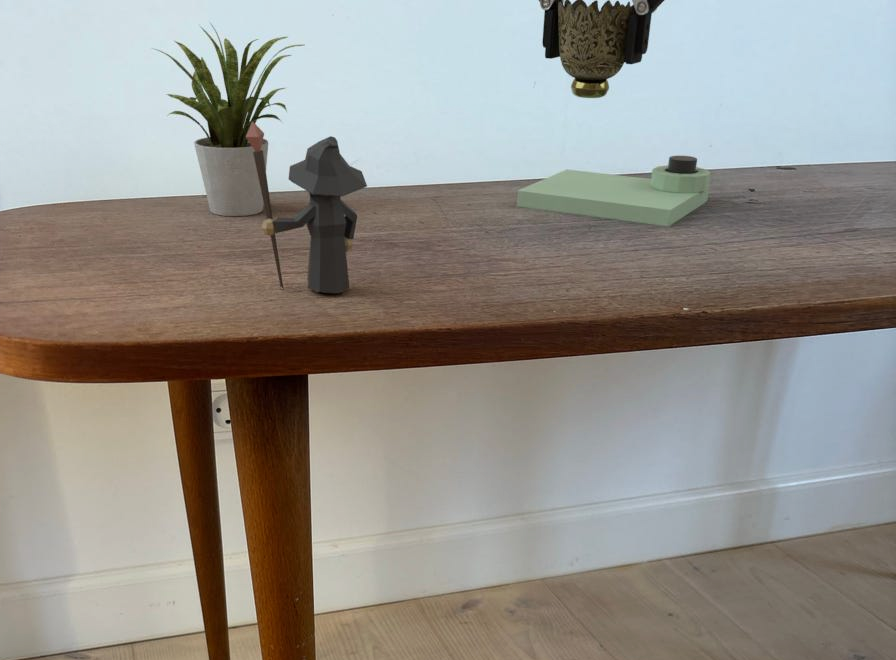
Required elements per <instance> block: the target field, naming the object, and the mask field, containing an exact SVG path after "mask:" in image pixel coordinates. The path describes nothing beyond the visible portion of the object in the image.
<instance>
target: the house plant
mask: <svg viewBox="0 0 896 660" xmlns="http://www.w3.org/2000/svg"><path fill="white" fill-rule="evenodd" d="M209 24H210V25H211V26H212V28H213V30H214V32H215V34H216V36H217V39H218V42H219V45H220V46H219V45H218V44H217V42H216V41H215V40H214V39H213V37H212V36H211V35H210V34H209V32H208V31H206V30H205V29H204V28H203V27H202V26H201V24H198V26H199V27H200V28H201V30H202V31H203V32H204V33H205V34H206V36H207V37H208V38H209V40H210V41H211V42H212V44H213V47H214V49H215V52H216V55H217V57H218V58H217V59H218V61H219V65H220V68H221V73H222V77H223V83H224V88H225V92H226V98H227V100H226V99H224V98H222V93H221V90H220V88H219V87H218V85H216V83H215V81H214V78H213V74H212V73H211V70H210V69H209V67H208V65H207V63H206V61H205V60H204V58H203V56H201V58H199V56H197V54H196V53H194V52H193V51H192V50H191V49H190V48H188V46H186V45H185V44H183V43H181V42H179V41H177V40H174V43H176V44H177V45H178V46H179V48H180V49H181V51H183V52H184V54H185V55H186V57H187V59H188V60H189V62H190V64H191V65H192V67H193V70H194V72H193V73H190V72H189V71H188V70H187V69H186V68H185V67H184V66H183V65H182V64H181V63H180V61H178V60H177V59H176V58H174V57H173V56H171V55H170V54H168V53H167V52H164V51H162V50H159V49H156V48H153V47H151V49H153V50H156V51H158V52H160V53H162V54H164V55H166V56H167V57H169V58H170V59H171V60H172V61H173V62H174V63H175V65H177V66H178V67H179V69H181V70H182V71H183V73H184V74H186V75H187V76H188V78H189V79H190V80H191V89H192V91H193V94H194V96H195V97H194V96H190V97H187V96H184V95H179V94H171V93H167V94H165V95H167V96H169V97H170V98H172V99H176V100H178V101H180V102H181V103H183V104H184V105H186V106H187V107H190V108H192V109H193V110H195V111H196V112H198V113H199V114H200V115H201V116H202V117H203V118H204V119H205V121H206V123H207V128H208V132H207V130H206V129H205V127H203V125H201V123H200V122H199V121H198V120H197V119H195V118H194V117H193V116H192V115H190V114H188V113H187V112H185V111H181V110H174V111H172V112H170V113H168V114H167V115H166V117H168V116H169V115H179V116H184V117H186V118H189V120H190V119H191V121H193V122H195V124H197V125H198V126H199V127H200V128H201V129H202V131H203V132H204V133H205V135H206V137H203V138H199V139H195V141H194V142H193V144H194V149H195V152H196V157H197V162H198V165H199V169H200V173H201V178H202V182H203V186H204V190H205V195H206V199H207V202H208V206H209V211H210V213H212V214H214V215H218V216H225V217H244V216H252V215H256V214H257V215H258V214H259V213H261V212H263V210H264V201H263V197H262V192H261V187H260V182H259V178H258V173H257V168H256V164H255V159H254V154H253V152H254V151H255V150H254V148H253V147H252V146H251V144H250V143H249V141H248V140H247V138H246V135H247V133H248V130H249V128H250V126H251V123H252V121H253V122H254V123H255V124H256V123H257V121H258V120H261V119H265V118H267V119H274V120H275V119H276V120H278V121H280V122H281V123H282V124H283V123H284V122H283V121H282V120H281V119H280V118H279V117H278V116H277V115H276V114H271V113H266V114H262V112H263V110H264V109H265V108H267V107H269V108H271V106H274V105H276V106H280V107H281V108H282V109H284V110H285V112H286V113H288V111H287V107H286V104H284V103H282V102H274V103H270V100H271V99H272V97H274V96H275V94H276V93H278V91H281V90H285V89H287V88H289V87H281V88H276V89H273V90H271V91H269V92H268V93H267V94H266V95H265V96H264V97H260V94H261V91H262V89H263V87H264V84H265V82H266V81H267V79H268V76H269V75H270V73H271V72H272V70H273V69H275V67H276V65H277V64H278V63H279V62H280V61H281V60H282V59H284V58H288V57H291V56H292V54H286V55H285V54H284V55H280V56H277V55H278V54H279V53H281V52H283V51H284V50H287V49H289V48H294V47H303V46H304V44H292V45H288V46H285V47H284V48H282V49H280V50H278V52H276V53H275V54H274V55H273V56H272V58H271V59H270V60H269V61H268V63H267V64H266V65H265V67H264V68H263V70H262V72H261V74H260V75H259V77H258V79H257V81H256V83H255V84H254V87H253V89H252V91H251V92H250V94H249V91H250V87H251V84H252V80H253V78H254V76H255V73H256V71H257V69H258V66H259V65H260V63H261V61H262V60H263V58H264V57H265V55H266V53H268V51H270V49H271V48H272V47H273V46H274V44H275V43H277V42H278V41H281V40H284V39H287V38H288V36H281V37H276V38H272V39H270V40H268V41H266V42H265V43H264V44H262V45H261V47H259V48H258V49H257V50H256V51H254V52H253V53H252V55H251V56H250V59H248V54H249V51H250V47H251V46H252V43H254V42H256V41H258V40H259V38H256V39H254V40H251V41H250V42H249V43H248V44H246V46H245V48H244V50H243V53H242V58H241V63H240V69H239V58H238V51H237V50H236V48H235V46H234V45H233V44H232V43H231V41H230V40H229V39H227V38H226V37H225V38H224V40H223V44H222V41H221V39H220V36H219V33H218V32H217V30H216V28H215V26H213V24H212V23H211V22H209ZM223 46H224V48H223ZM224 52H225V53H224ZM276 56H277V57H276ZM275 57H276V58H275ZM273 58H274V59H273ZM247 61H248V62H247ZM192 74H193V75H192ZM255 89H256V91H255V92H254V90H255ZM253 93H254V94H253ZM248 94H249V96H248ZM252 95H253V96H252ZM258 100H260V102H259V103H258V105H257V102H258ZM256 105H257V106H256ZM255 107H256V108H255ZM253 112H254V113H253ZM261 114H262V115H261ZM261 150H263V155H264V162H265V169H266V170H267V164H268V155H269V154H268V153H269V152H268V151H269V140H268V139H266V138H263V142H262V146H261Z"/></svg>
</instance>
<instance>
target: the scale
mask: <svg viewBox="0 0 896 660" xmlns="http://www.w3.org/2000/svg"><path fill="white" fill-rule="evenodd" d="M667 170H668V165H667V164H666V165H659V166H656V167H654V168H652V170H651V177H650V178H643V177H635V176H627V175H619V174H610V173H602V172H594V171H593V172H592V171H585V170H584V171H583V170H576V169H565V170H562V171H560V172H558V173H555V174H553V175H551V176H547V177H546V178H543V179H541V180H539V181H537V182H534V183H532V184H529V185H527V186H525V187H522V188H520V189H518V190H517V196H516V207H520V208H527V209H528V208H529V209H535V210H541V211H542V210H543V211H550V212H557V213H566V214H573V215H579V216H580V215H581V216H587V217H595V218H602V219H609V220H619V221H624V222H633V223H639V224H640V223H641V224H648V225H654V226H655V225H656V226H661V227H662V226H663V227H670V226H671V225H673V224H674V223H676V222H678V221H679V220H680V219H682V218H684V217H685V216H687V215H688V214H690V213H691V212H693V211H695V210H696V209H698V208H700V207H701V206H702V205H704V204H706V203H707V202H708V198H709V193H710V180H711V174H712V173H711V171H710V170H709V169H706V168H702V167H698V166H696V171H695V173H694V174H677V173H670V172H667Z"/></svg>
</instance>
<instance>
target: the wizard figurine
mask: <svg viewBox="0 0 896 660" xmlns="http://www.w3.org/2000/svg"><path fill="white" fill-rule="evenodd" d="M264 137H265V132H264V131H263V130H262V129H261V128H260V127H259V126H258V125H257V124H256V123H254V122H253V121H252V123H251V126H250V128H249V130H248V133H247V135H246V138H247V140H248V141H249V143H250V144H251V146H252V147H253V148H254V150H255V151H254V152H253V154H254V159H255V164H256V168H257V173H258V178H259V182H260V187H261V192H262V197H263V207H264V210H265V216H266V219H265V220H263V221H262V222H263V223H262V225H261V229H262V231H263V234H264V235H267V236H270V240H271V245H272V251H273V255H274V260H275V265H276V271H277V277H278V281H279V287H280V288H281V287H282V288H283V289H284V284H283V276H282V270H281V264H280V258H279V252H278V246H277V245H278V244H277V238H276V234H279V233H283V232H288V231H291V230H296V229H299V228H300V229H301V228H303V227H304V226H306V229H307V230H308V233H309V237H310V241H309V253H308V267H307V289H308V288H309V289H311V290H313V291H317V292H322V293H324V294H325V293H326V294H339V293H342V292H344V291H346V290H348V289H350V288H351V287H350V278H349V269H348V260H347V252H349V251H350V250H352V248H353V246H354V243H353V240H354V237H355V231H356V226H357V220H358V214H357V213H356V211H354V210H353V209H352V208H351V207H350V206H349V205H348V204H347V203H346V202H344V201H343V200H342V199H341V197H342V198H343V197H344V196H347V195H349V194H352V193H355V192H357V191H360V190H362V189H365V188H367V187H368V185H367V181H366V180H365V176H364V174H363V171H362V170H360V169H357V168H355V167H353V166H351V165H350V164H349V163H348V161H346V160H345V158H344V156H343V155H342V153H341V152H340V147H339V143H338V140H337V138H336V137H335V136H332V135H330V136H327V137H326V138H323V139H321V140H319V141H317V142H316V143H314V144H313V145H311V146H309V147H308V148H307V150H306V154H305V158H304V159H303V160H301V161H299V162H297V163H294V164H291V165H289V172H288V180H289V181H290V182H291V183H293V184H294V185H296V186H298V187H300V188H301V189H303V190H305V191H306V192H307V193H308V197H309V203H308V204H307V206H305V207H304V208H303V209H302V210H301V211H299V212H298V213H297V214H296V215H295V216H293V217H279V216H278V217H276V218H273V212H272V204H271V197H270V191H269V184H268V177H267V168H266V169H265V162H264V155H263V150H261V146H262V142H263V139H264ZM309 289H308V290H309ZM311 290H310V291H311ZM313 291H312V292H313ZM317 292H316V293H317ZM322 293H321V294H322Z"/></svg>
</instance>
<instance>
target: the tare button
mask: <svg viewBox="0 0 896 660" xmlns="http://www.w3.org/2000/svg"><path fill="white" fill-rule="evenodd" d="M697 163H698V158H697V157H695V156H691V155H671V156H669V157H668V162H667V164H668V170H667V172H670V173H677V174H694V173H695V171H696V167H697Z"/></svg>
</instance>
